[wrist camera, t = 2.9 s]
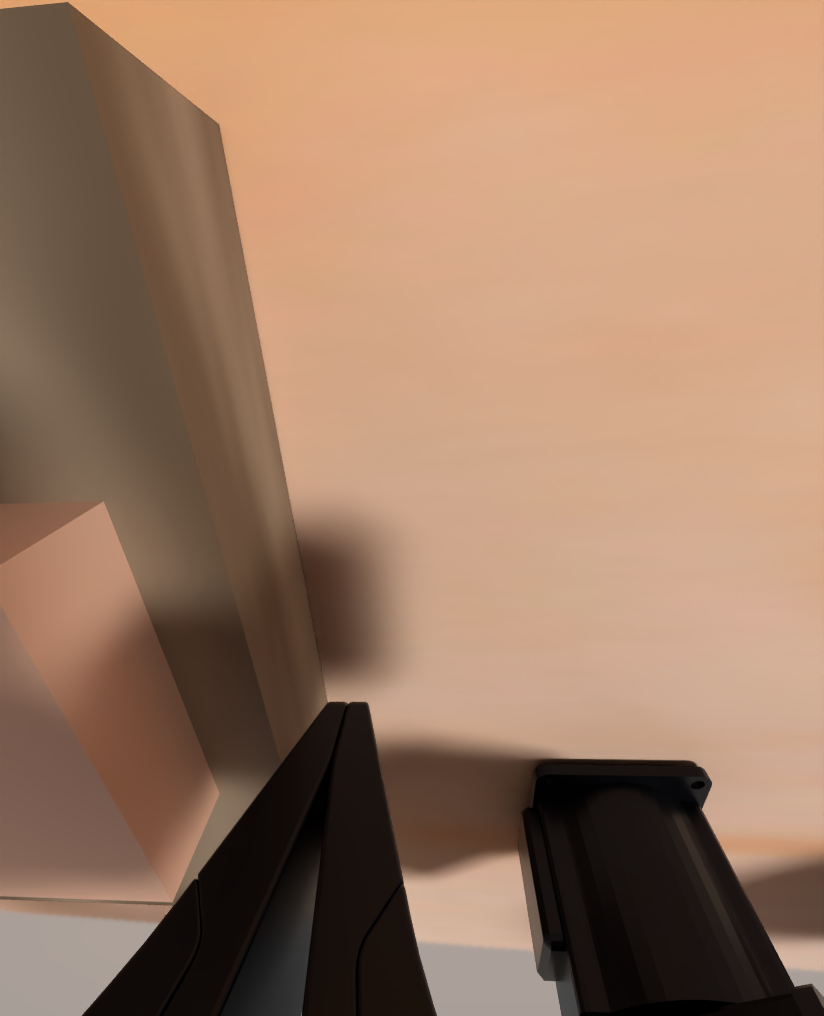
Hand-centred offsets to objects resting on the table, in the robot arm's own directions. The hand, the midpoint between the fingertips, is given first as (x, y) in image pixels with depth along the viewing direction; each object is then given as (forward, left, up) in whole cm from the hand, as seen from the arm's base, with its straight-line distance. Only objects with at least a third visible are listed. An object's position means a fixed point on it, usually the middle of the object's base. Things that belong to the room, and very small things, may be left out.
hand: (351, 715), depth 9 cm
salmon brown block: (+7, 0, -1) cm, 7 cm away
